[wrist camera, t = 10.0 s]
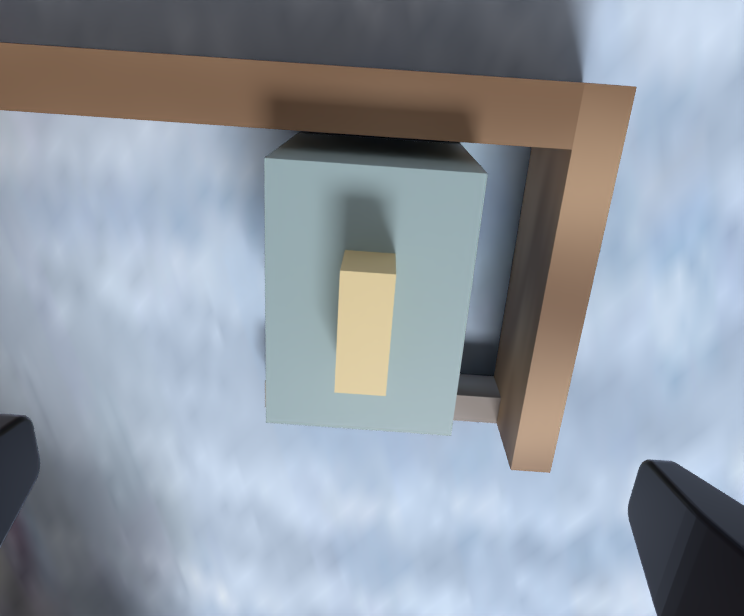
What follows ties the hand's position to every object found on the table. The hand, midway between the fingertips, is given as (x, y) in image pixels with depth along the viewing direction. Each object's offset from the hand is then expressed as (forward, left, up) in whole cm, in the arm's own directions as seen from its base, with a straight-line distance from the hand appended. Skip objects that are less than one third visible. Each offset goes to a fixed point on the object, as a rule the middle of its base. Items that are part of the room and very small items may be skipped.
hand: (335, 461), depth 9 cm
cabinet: (0, 0, -12) cm, 12 cm away
